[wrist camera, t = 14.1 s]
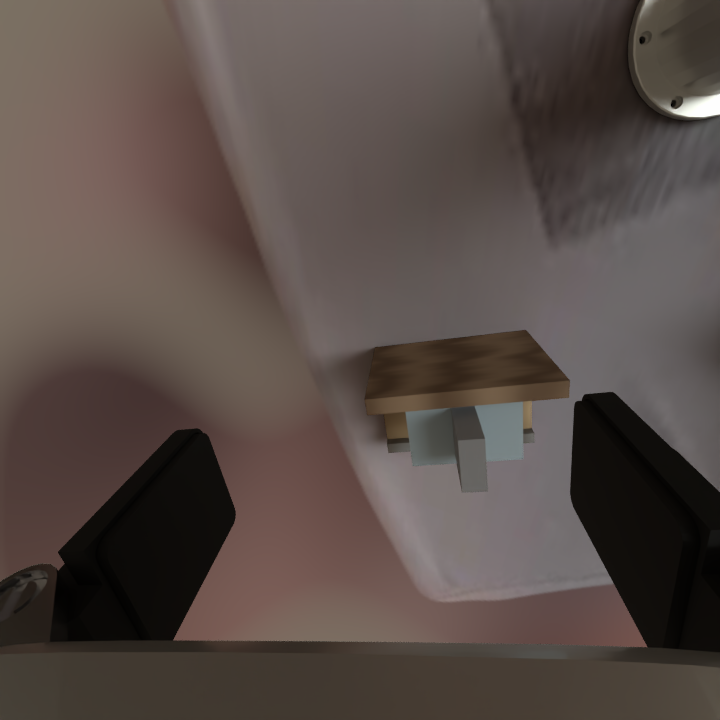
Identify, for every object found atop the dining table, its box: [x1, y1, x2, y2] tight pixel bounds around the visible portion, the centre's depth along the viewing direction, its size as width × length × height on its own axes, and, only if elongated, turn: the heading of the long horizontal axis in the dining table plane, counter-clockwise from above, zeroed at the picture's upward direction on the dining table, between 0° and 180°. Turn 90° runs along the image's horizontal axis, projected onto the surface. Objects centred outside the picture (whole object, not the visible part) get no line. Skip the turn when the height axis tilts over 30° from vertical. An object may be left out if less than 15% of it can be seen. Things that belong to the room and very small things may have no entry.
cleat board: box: [365, 330, 570, 453], centre depth 39 cm, size 16×12×12 cm
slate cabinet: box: [405, 402, 523, 493], centre depth 36 cm, size 10×7×13 cm
